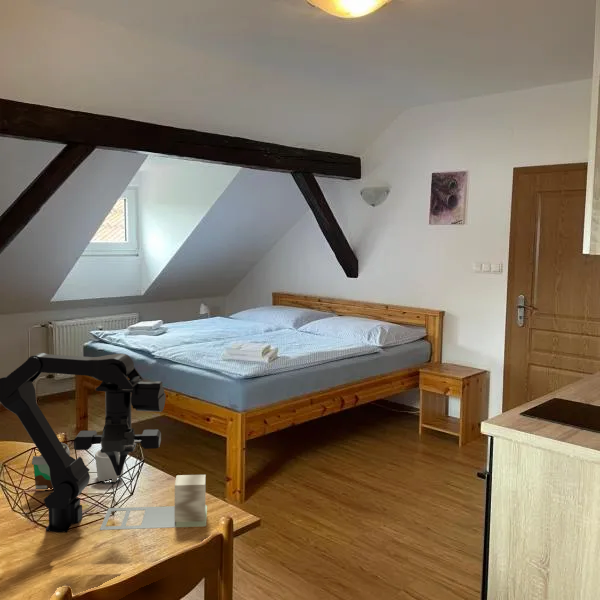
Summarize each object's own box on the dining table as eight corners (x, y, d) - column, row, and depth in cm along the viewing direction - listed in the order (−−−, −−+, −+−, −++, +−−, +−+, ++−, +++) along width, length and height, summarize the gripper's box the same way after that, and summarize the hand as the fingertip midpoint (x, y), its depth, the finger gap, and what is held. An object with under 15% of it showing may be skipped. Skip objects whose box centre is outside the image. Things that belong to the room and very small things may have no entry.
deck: (99, 536, 139) (99, 529, 139) (108, 514, 150) (108, 508, 150) (205, 532, 142) (206, 526, 142) (207, 510, 153) (207, 505, 153)
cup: (86, 476, 172) (85, 448, 171) (112, 469, 178) (112, 442, 177) (103, 488, 164) (102, 460, 163) (130, 481, 170) (130, 453, 169)
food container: (53, 496, 159) (52, 459, 158) (32, 493, 160) (31, 456, 159) (79, 477, 171) (79, 443, 170) (59, 475, 172) (59, 441, 171)
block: (174, 522, 143) (174, 485, 142) (176, 510, 149) (176, 475, 148) (204, 521, 144) (204, 484, 143) (205, 509, 150) (205, 474, 149)
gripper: (67, 421, 130) (68, 491, 132) (156, 419, 133) (156, 488, 134) (79, 406, 141) (80, 471, 143) (161, 405, 144) (161, 469, 145)
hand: (118, 475), depth 141 cm, fingers closed
